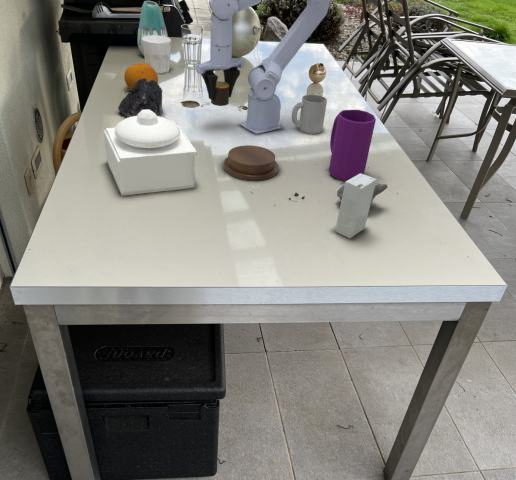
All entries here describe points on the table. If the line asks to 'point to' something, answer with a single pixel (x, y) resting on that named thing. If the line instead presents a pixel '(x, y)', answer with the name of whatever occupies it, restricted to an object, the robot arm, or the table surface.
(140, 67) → the fruit
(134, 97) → the crystal cluster
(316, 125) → the cup
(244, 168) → the pod stand
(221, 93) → the coffee pod
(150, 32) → the vase
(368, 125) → the mug
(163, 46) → the cup
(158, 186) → the butter dish
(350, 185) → the cosmetic box
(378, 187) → the fossil
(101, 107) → the table surface
